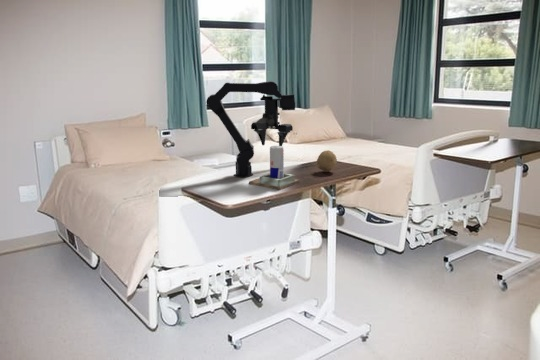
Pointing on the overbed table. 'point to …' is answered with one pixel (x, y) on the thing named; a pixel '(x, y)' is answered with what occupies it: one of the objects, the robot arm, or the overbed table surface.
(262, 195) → the overbed table surface
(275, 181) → the socket dock
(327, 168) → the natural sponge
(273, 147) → the beverage can
